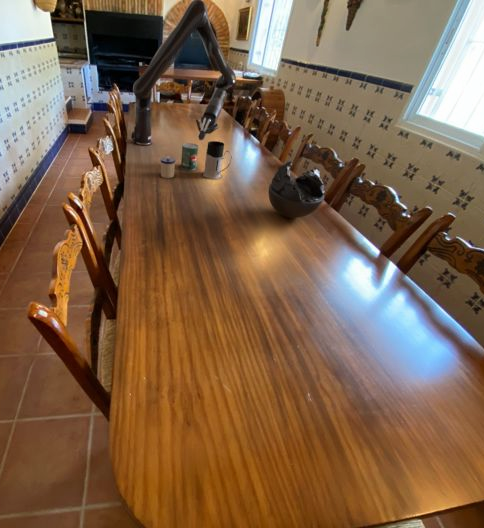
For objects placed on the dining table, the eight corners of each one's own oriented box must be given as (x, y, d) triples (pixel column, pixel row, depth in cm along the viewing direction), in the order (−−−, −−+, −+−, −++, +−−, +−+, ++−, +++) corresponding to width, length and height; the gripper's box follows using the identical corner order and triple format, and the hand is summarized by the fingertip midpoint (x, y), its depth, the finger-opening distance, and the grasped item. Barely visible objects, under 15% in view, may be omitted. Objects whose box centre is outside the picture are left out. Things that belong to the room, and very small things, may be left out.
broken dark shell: (324, 228, 110) (345, 179, 98) (272, 227, 108) (287, 178, 97) (302, 203, 126) (318, 158, 114) (256, 202, 124) (267, 157, 112)
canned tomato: (181, 164, 154) (182, 142, 147) (196, 165, 154) (198, 143, 147) (180, 170, 148) (181, 147, 141) (196, 171, 147) (198, 148, 140)
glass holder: (210, 170, 149) (214, 139, 140) (233, 179, 141) (239, 147, 132) (199, 174, 144) (202, 142, 135) (222, 184, 136) (227, 151, 127)
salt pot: (158, 177, 139) (159, 157, 134) (162, 171, 144) (162, 152, 139) (173, 178, 138) (174, 159, 133) (175, 173, 144) (176, 154, 138)
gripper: (200, 102, 151) (187, 132, 150) (224, 106, 146) (210, 137, 146) (203, 111, 158) (190, 140, 157) (226, 116, 153) (213, 146, 153)
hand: (200, 139), depth 152 cm, fingers closed
